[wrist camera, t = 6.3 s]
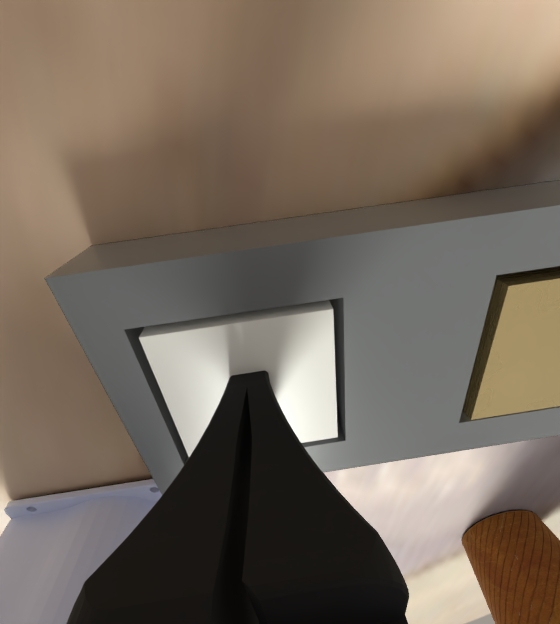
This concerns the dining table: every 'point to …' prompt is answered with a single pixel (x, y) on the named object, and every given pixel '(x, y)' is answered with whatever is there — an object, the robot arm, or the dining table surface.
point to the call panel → (346, 309)
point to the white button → (248, 365)
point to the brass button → (518, 347)
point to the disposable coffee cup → (516, 567)
